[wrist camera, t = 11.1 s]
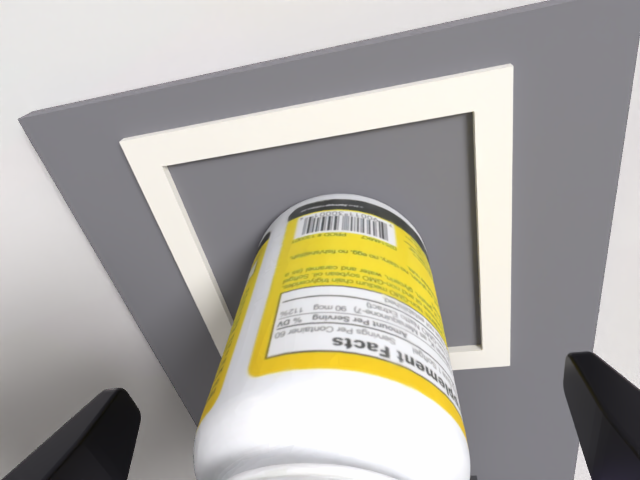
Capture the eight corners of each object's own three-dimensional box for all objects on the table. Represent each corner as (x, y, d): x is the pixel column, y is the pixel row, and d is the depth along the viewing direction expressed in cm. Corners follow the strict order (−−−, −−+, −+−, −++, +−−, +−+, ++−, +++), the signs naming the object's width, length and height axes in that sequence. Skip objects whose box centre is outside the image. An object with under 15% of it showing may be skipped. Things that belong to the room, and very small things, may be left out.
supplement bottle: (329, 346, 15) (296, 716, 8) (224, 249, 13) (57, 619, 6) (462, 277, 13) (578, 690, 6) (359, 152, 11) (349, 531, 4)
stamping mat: (286, 563, 25) (281, 605, 24) (32, 111, 12) (-20, 138, 10) (554, 564, 23) (568, 611, 21) (632, -18, 9) (687, -8, 8)
